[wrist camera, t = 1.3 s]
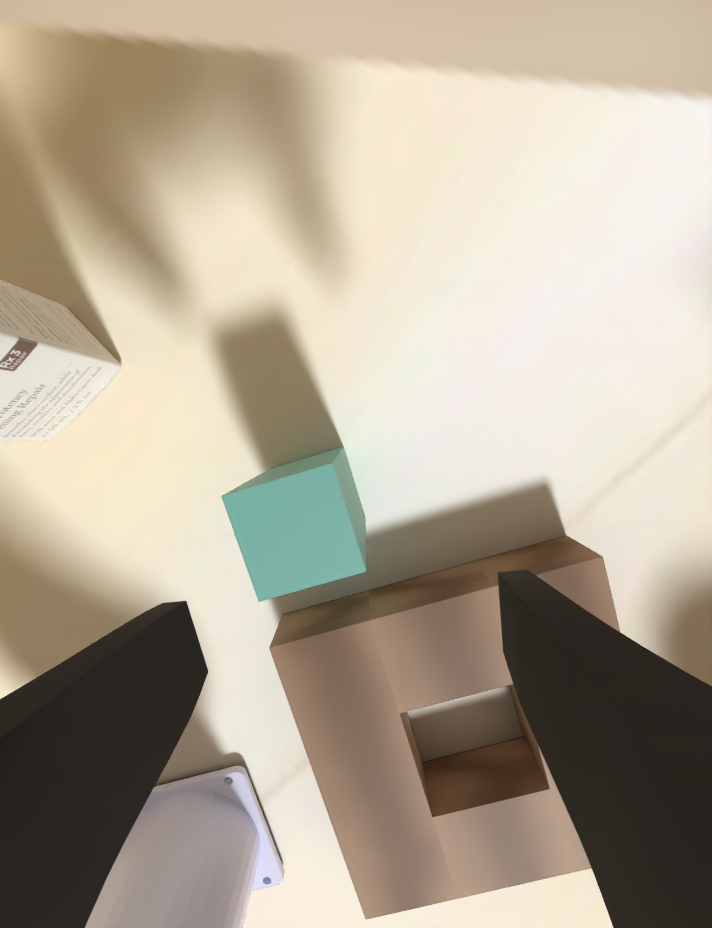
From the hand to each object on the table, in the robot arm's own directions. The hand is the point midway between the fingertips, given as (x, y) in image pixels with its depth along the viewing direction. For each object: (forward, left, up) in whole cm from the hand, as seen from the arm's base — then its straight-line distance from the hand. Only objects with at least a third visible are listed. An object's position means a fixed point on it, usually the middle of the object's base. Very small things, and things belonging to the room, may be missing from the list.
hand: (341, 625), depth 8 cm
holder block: (+2, -13, -11) cm, 17 cm away
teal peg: (-2, +1, -12) cm, 12 cm away
